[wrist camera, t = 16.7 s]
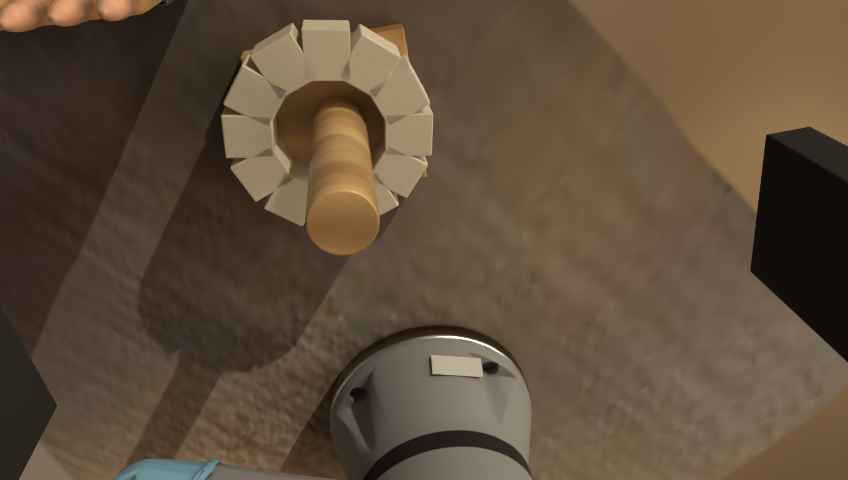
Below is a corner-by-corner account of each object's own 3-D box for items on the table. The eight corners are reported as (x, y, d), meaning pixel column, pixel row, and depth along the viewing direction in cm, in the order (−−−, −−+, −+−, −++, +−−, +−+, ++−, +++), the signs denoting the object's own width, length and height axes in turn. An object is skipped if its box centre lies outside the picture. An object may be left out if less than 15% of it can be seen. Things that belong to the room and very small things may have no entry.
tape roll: (423, 206, 41) (428, 225, 39) (239, 211, 40) (234, 231, 38) (430, 21, 36) (436, 30, 34) (218, 18, 35) (210, 28, 32)
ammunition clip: (-14, 13, 34) (-164, 71, 24) (-29, -25, 34) (-192, 18, 23) (193, -11, 35) (135, 36, 25) (184, -48, 34) (119, -17, 24)
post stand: (424, 168, 42) (464, 294, 29) (283, 194, 41) (261, 333, 29) (401, 22, 37) (437, 96, 25) (242, 50, 37) (197, 139, 24)
